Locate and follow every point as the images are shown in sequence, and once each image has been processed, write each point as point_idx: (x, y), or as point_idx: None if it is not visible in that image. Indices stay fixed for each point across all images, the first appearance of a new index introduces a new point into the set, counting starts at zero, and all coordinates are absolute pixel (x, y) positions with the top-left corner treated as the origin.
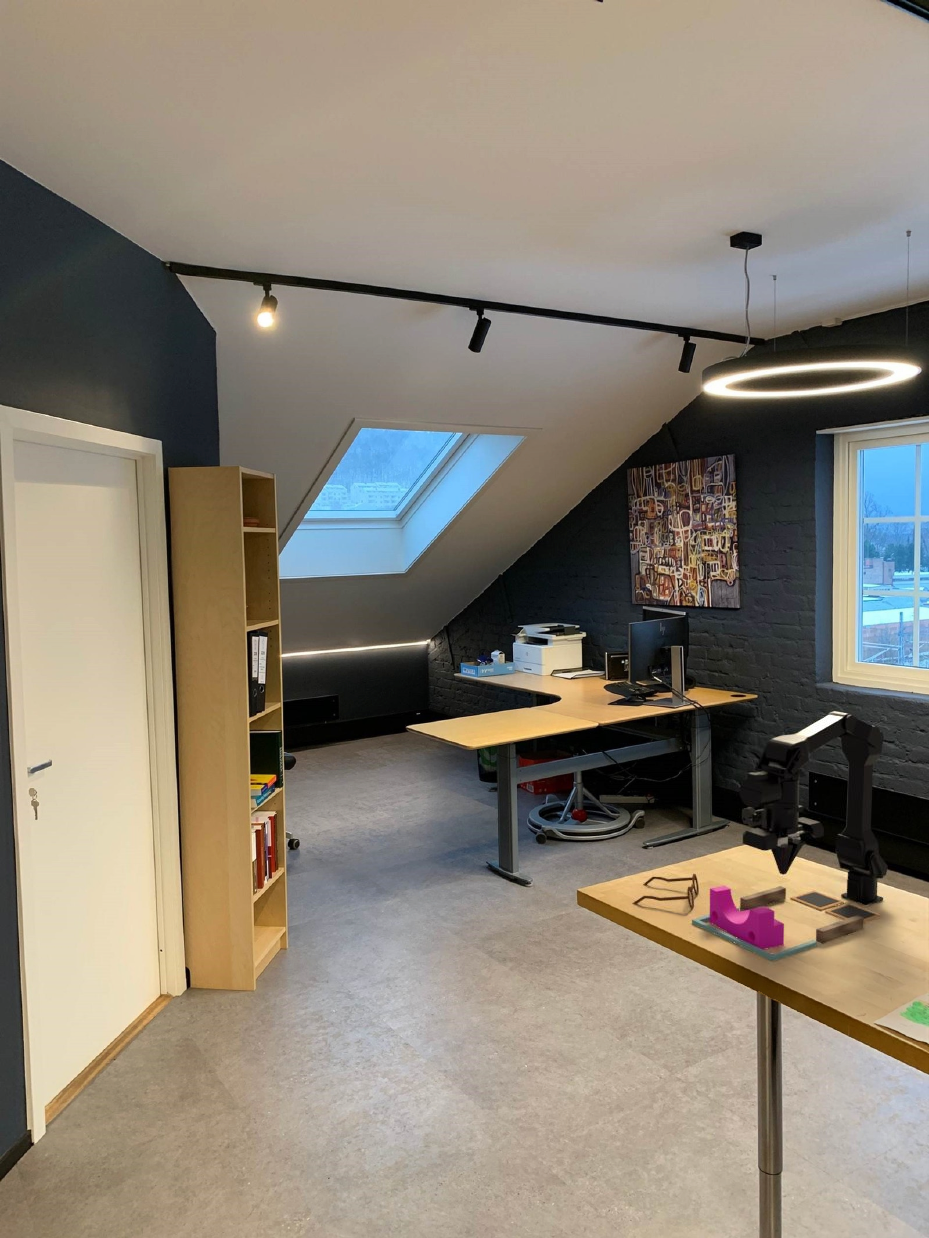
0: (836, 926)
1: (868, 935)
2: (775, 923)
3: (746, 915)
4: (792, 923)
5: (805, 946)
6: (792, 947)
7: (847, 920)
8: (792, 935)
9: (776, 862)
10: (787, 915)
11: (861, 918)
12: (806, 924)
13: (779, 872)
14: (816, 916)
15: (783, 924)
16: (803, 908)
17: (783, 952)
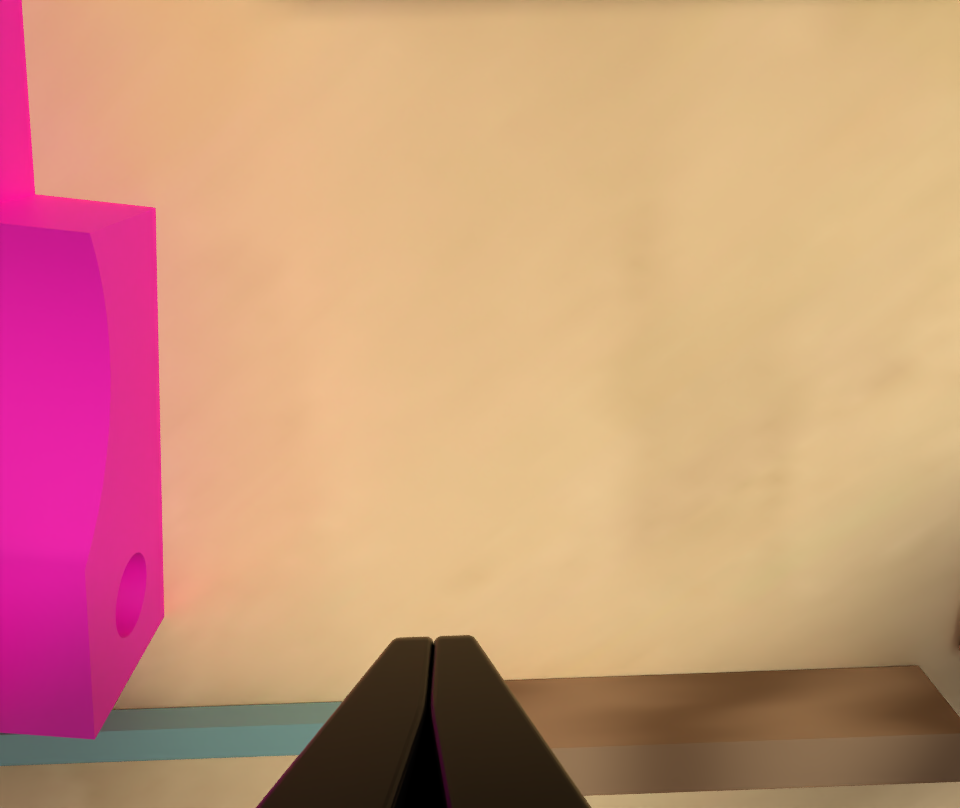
0: (614, 789)
1: None
2: (20, 703)
3: (19, 286)
4: (556, 384)
5: (241, 752)
6: (129, 734)
7: (799, 760)
8: (357, 541)
9: (281, 794)
10: (674, 234)
11: (930, 782)
12: (640, 455)
13: (386, 648)
14: (869, 385)
15: (90, 734)
16: (957, 193)
17: (5, 757)
